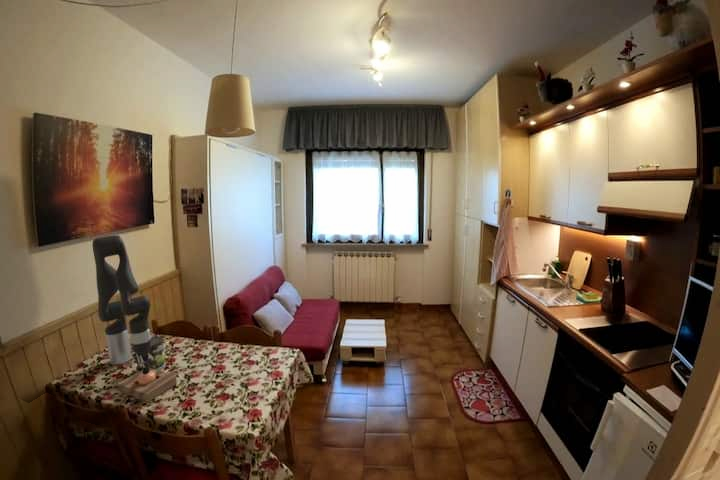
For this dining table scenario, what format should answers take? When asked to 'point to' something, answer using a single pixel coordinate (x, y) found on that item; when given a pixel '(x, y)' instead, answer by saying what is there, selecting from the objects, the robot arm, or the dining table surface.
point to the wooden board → (149, 391)
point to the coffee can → (157, 353)
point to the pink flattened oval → (146, 378)
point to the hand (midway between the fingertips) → (146, 373)
